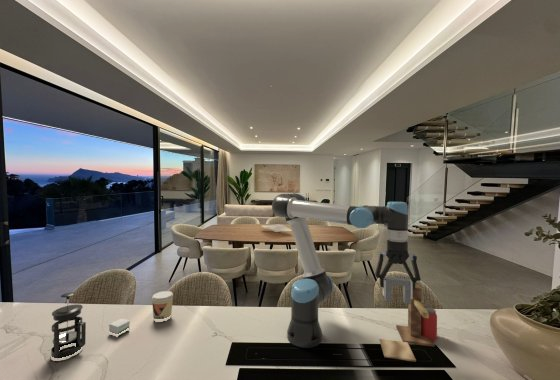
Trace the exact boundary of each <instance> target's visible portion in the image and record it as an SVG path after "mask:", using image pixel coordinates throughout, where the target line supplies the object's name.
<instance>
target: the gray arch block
mask: <svg viewBox="0 0 560 380" xmlns="http://www.w3.org/2000/svg"><path fill="white" fill-rule="evenodd" d="M385 280H386V297H384V296H383V297H384V301H385V303H392V285H393V286H400V287H402V301H403V303H404V304H405V305H408V304H411V281H410V280H411V279H410V278H407V277H406V278H405V277H404V278H403V277H393V276H385Z"/></svg>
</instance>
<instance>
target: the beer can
mask: <svg viewBox="0 0 560 380" xmlns="http://www.w3.org/2000/svg"><path fill="white" fill-rule="evenodd" d="M423 307H424V308H425V309H426V311H427V312H428V313H429V318H423V316H422V315H421V335H422V336H424V337H427V338H431V339H432V341H435V340H437V339H438V315H437V313H436V312H437V311H436V309H434V308H433V307H431V306H426V305H425V306H424V305H423Z"/></svg>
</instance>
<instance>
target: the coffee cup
mask: <svg viewBox="0 0 560 380" xmlns="http://www.w3.org/2000/svg"><path fill="white" fill-rule="evenodd" d="M173 297H174V293H173V292H172V291H170V290H162V291H158V292H156V293H154V294H153V295H152V297H151V300H152V302H151V303H152V318H154V319H164V318H167V317H169V316H170V315H171V316H172V309H173V299H174V298H173ZM154 319H153V320H154Z"/></svg>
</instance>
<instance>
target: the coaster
mask: <svg viewBox="0 0 560 380" xmlns="http://www.w3.org/2000/svg"><path fill="white" fill-rule="evenodd" d="M379 344H380V346H381V350H382V353H383V356H384V358H388V359H394V360H401V361H407V362H415V363H416V362H417V359H416V357H415V355H414V353H413V351H412V349H411V346H410V345H409V343H408V342H403V341H402V340H401V341H399V340H392V339H386V338H385V339H384V338H379Z"/></svg>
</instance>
